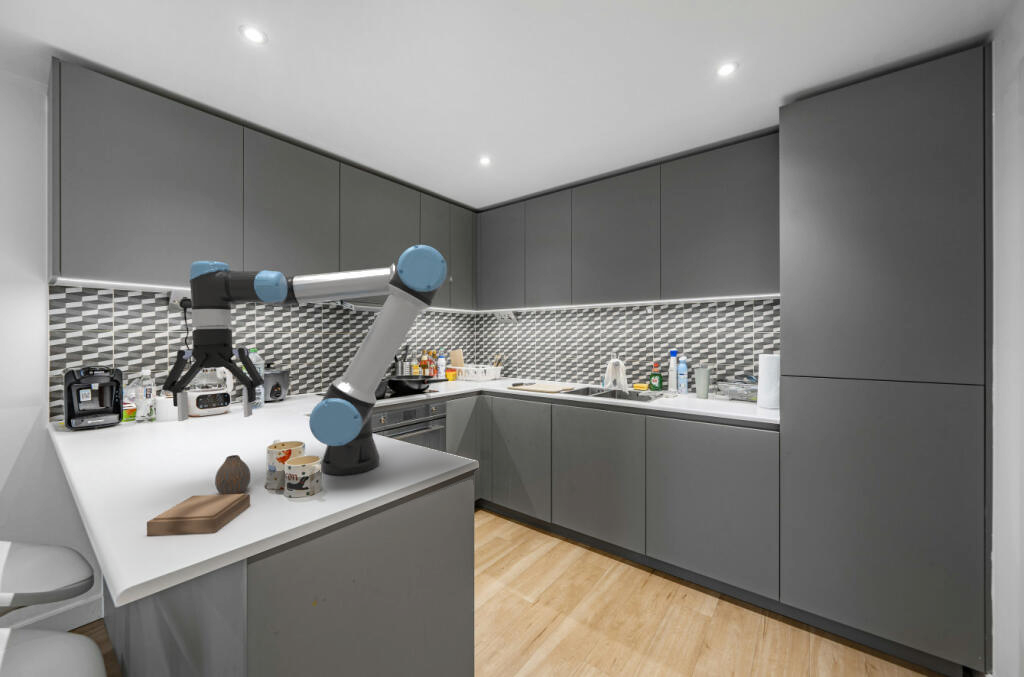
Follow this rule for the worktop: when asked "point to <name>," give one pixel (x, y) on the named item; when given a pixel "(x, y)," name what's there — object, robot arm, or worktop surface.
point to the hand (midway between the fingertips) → (216, 418)
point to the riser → (199, 515)
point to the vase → (232, 476)
